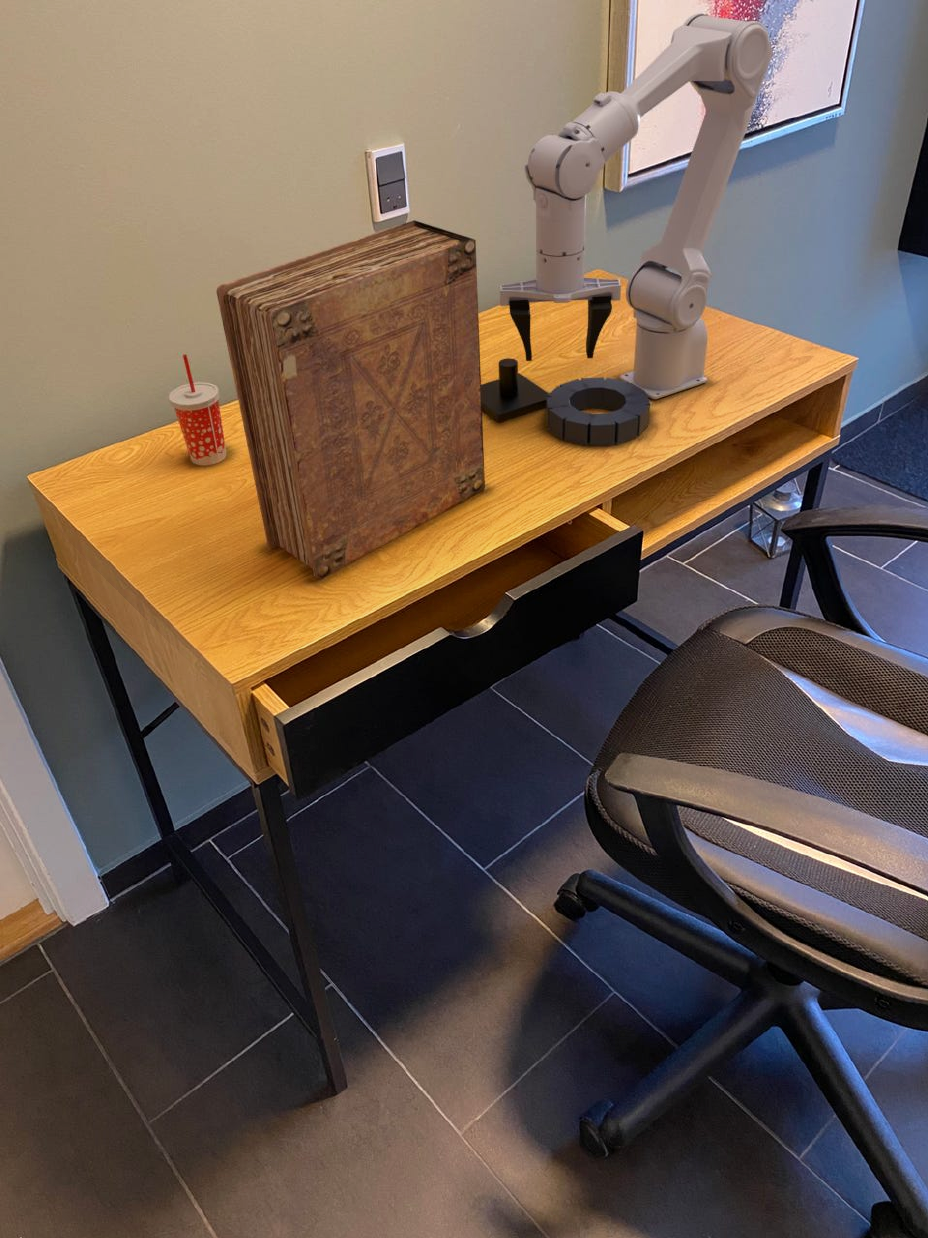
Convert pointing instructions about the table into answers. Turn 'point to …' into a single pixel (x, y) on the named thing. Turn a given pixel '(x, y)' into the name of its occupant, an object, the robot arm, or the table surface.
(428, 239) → the book
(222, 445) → the beverage cup
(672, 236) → the robot arm
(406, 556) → the table surface
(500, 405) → the peg stand
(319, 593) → the table surface
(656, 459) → the table surface
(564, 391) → the hoop
